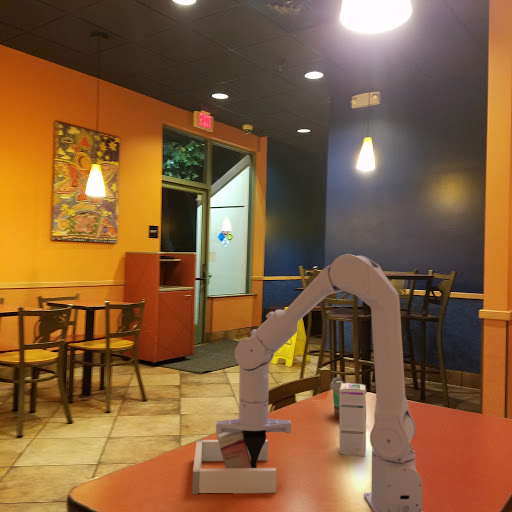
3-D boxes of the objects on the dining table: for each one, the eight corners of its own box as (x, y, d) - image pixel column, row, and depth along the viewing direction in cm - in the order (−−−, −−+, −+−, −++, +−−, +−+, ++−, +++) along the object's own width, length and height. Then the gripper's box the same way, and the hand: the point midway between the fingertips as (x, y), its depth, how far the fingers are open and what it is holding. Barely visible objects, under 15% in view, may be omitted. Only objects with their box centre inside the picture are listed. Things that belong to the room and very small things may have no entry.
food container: (321, 413, 141) (321, 377, 141) (339, 411, 144) (340, 376, 144) (347, 426, 130) (347, 387, 130) (366, 424, 132) (366, 385, 133)
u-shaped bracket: (276, 492, 91) (276, 470, 91) (192, 494, 90) (192, 471, 90) (267, 458, 107) (267, 439, 107) (196, 459, 106) (196, 439, 106)
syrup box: (366, 457, 109) (366, 389, 109) (338, 454, 110) (339, 387, 111) (365, 447, 115) (366, 383, 115) (339, 445, 116) (340, 382, 116)
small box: (228, 480, 96) (217, 440, 96) (227, 470, 100) (216, 433, 100) (253, 471, 97) (242, 432, 97) (251, 462, 101) (240, 425, 101)
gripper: (288, 393, 103) (287, 461, 102) (216, 394, 101) (215, 462, 101) (293, 403, 95) (292, 475, 95) (216, 403, 94) (215, 476, 94)
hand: (253, 469), depth 98 cm, fingers closed, pressing on small box
